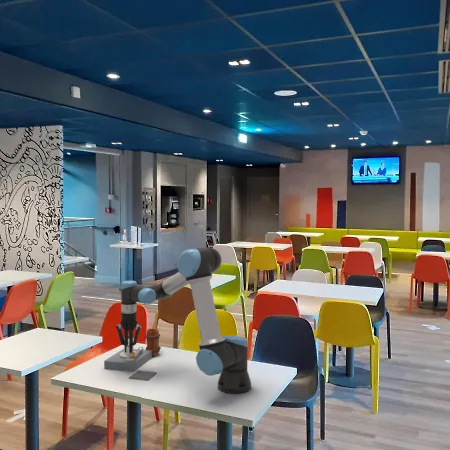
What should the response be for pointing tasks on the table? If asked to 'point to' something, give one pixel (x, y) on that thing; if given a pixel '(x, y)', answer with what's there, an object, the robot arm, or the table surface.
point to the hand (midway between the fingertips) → (128, 358)
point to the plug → (123, 354)
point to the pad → (142, 375)
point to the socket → (127, 361)
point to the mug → (153, 340)
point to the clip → (134, 355)
